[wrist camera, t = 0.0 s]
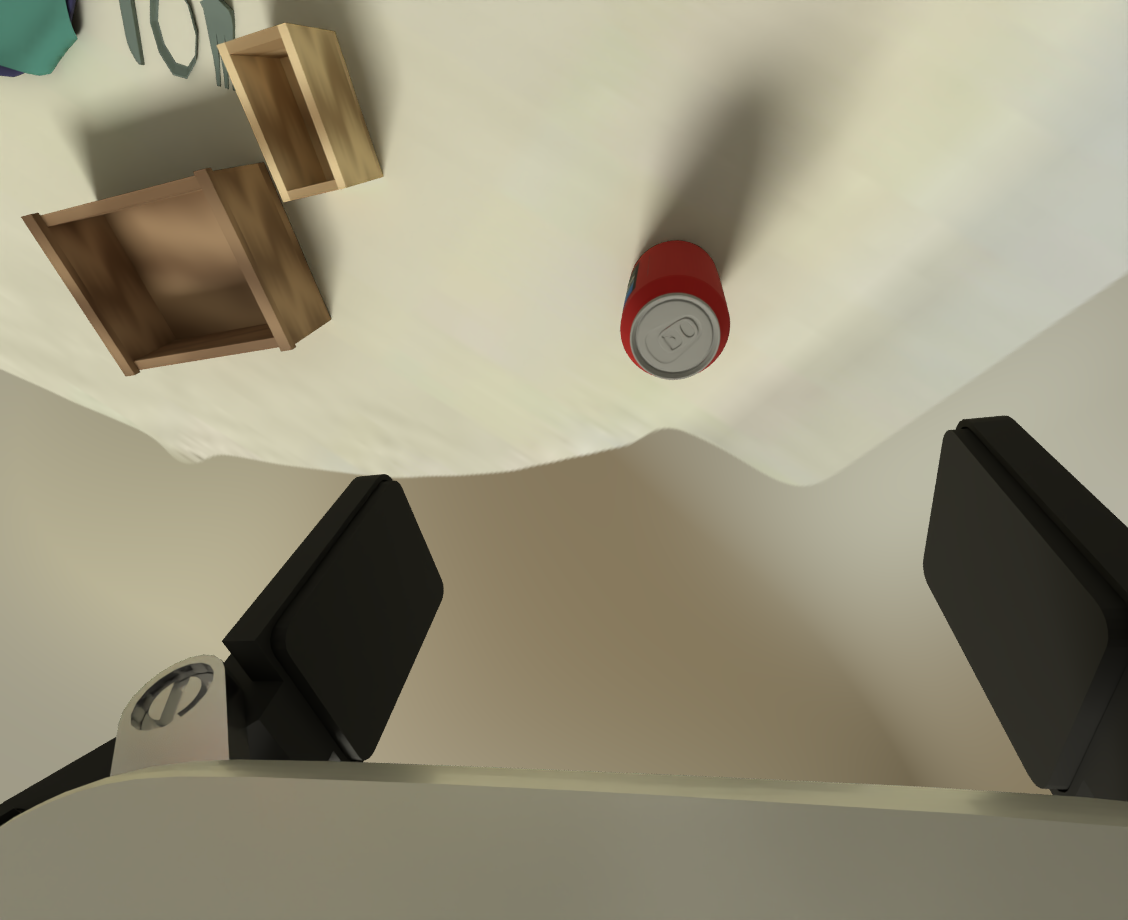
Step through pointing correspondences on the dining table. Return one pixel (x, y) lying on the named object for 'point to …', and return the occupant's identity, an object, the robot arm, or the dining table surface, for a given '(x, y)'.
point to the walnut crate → (186, 269)
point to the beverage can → (674, 311)
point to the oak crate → (302, 109)
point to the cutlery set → (44, 34)
